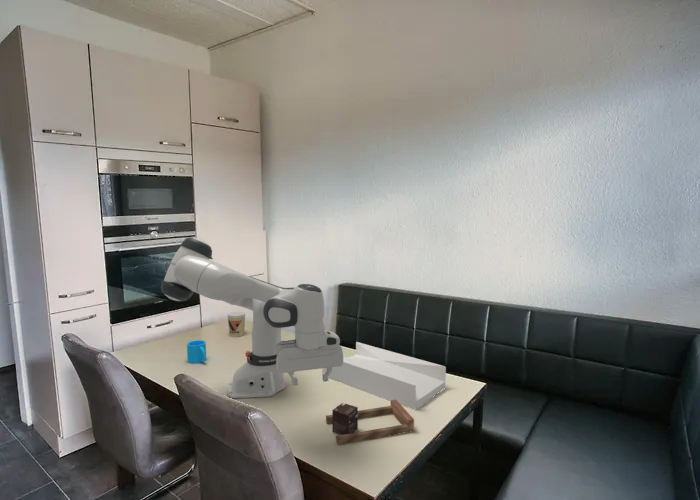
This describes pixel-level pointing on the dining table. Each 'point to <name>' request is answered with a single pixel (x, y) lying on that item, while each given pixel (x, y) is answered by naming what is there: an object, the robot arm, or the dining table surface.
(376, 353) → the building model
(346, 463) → the dining table surface
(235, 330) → the coffee cup
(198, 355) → the mug
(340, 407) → the box
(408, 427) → the guide channel
